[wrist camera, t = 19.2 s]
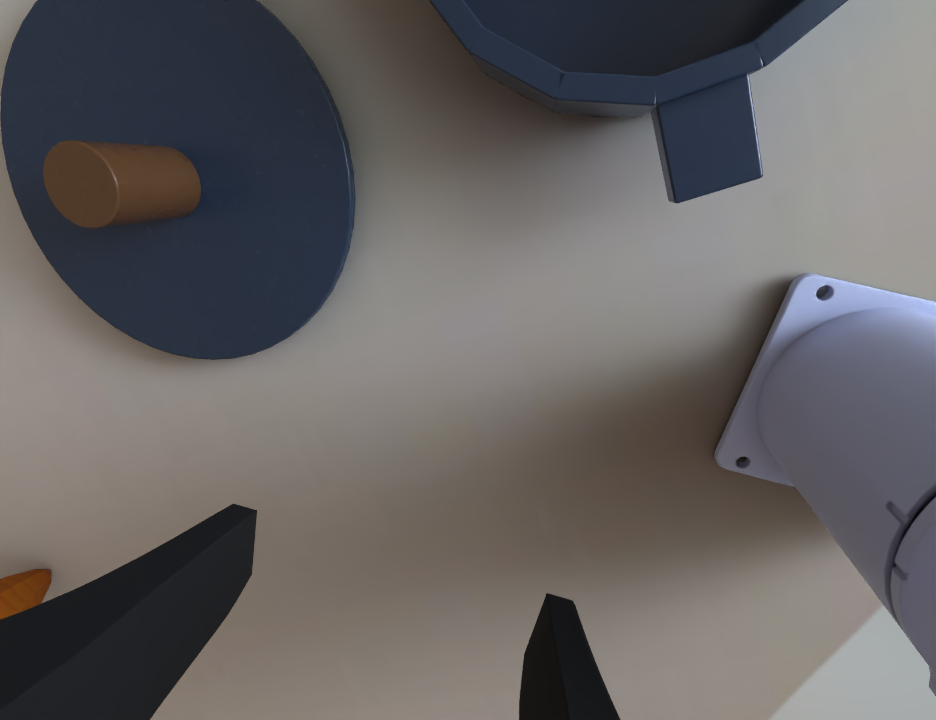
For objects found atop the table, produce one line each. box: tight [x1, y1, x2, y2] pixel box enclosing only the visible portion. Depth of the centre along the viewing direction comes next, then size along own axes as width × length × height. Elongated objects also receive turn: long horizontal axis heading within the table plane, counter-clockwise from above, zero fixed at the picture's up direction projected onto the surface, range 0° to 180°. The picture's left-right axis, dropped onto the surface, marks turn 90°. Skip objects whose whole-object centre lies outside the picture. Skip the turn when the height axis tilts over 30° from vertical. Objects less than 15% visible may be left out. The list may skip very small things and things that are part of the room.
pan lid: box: [0, 0, 355, 360], centre depth 18 cm, size 14×14×5 cm
